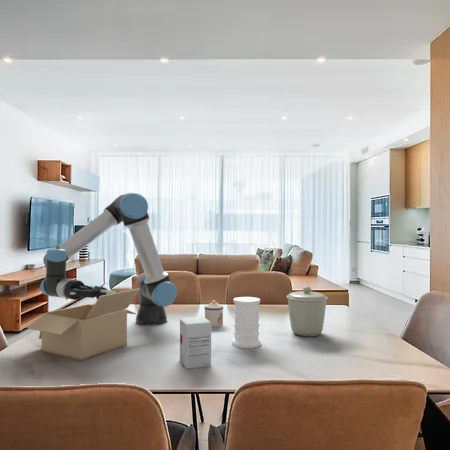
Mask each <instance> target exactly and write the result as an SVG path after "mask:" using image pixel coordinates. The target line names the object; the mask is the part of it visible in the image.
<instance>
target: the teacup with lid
mask: <svg viewBox="0 0 450 450" xmlns="http://www.w3.org/2000/svg"><path fill="white" fill-rule="evenodd" d="M223 312H224V305H222V304H219V303H218V302H217V300H212V301H211V302H210V303H208V304H206V305H205V306H204V318H206V319H207V320H208V321H210V322H211V328H220V327H222V326H223V324H224V323H223V317H224V313H223Z"/></svg>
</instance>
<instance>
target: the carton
mask: <svg viewBox="0 0 450 450" xmlns="http://www.w3.org/2000/svg"><path fill="white" fill-rule="evenodd" d="M94 304H95V303H84V304H81V305H80V304H79V305H76V306H70V307H65V308H61V309H56V310H52V311H48V312H47V311H46V312H44V313H41V316H40V317H38V318H37V319H36V320H34V321H33V322H31V323H30V324H29V325H28V326H26V328H27V329H30V330H34V331H38V332H39V335H38V340H41V346H40V347H41V350H40V351H41V352H44V353H48V354H51V355H57V356H60V357H64V358H67V359H71V360H76V361H79V362H83V361H86V360H88V359H91V358H95V357H97V356H99V355H103V354H106V353H108V352H111V351H113V350H116V349H118V348H122V347H124V346H127V344H128V341H127V340H128V314H130V315H136V316H137V313H136V312H134V311H131V310H129V309H128V308H126V309H122V310H118V311H114V312H110V313H106V314H102V315H98V316H94V317H90V318H86V317H87V315H88V314H89V312H90V311H91V309H92V308H93V306H94Z"/></svg>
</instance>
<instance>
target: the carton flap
mask: <svg viewBox="0 0 450 450" xmlns="http://www.w3.org/2000/svg"><path fill="white" fill-rule="evenodd" d="M138 293H140V287H138V288H134V289H128V290H123V291H119V292H116V293H112V294H107V295H102V296H99V298H98V299H96V302H95V303H93V304H94V306H93V308H92V309H91V311H90V312H89V314H88V315H87V317H86V318H90V317H94V316H98V315H102V314H106V313H110V312H114V311H118V310H122V309H128V308H129V306H131V305H130V304H131V303H132V301H133V300H134V299H135V298H136V296H137V294H138Z"/></svg>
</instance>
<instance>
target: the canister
mask: <svg viewBox="0 0 450 450" xmlns="http://www.w3.org/2000/svg"><path fill="white" fill-rule="evenodd" d="M286 298H287V303H288V304H287V305H288V314H289V322H290V323H289V324H290V328H291V331H292V333H294V334H295V335H297V336H300V337H318V336H320V335H321V334H322V332H323V329H324V323H325V318H326V317H325V316H326V307H327V300H328V299H329V297H328V296H326V295H325V293H324V294H323V293H321V292H317V291H312V288H311V287H310V286H309V285H307V286H306V285H305V286H303V288H302V290H299V291H292V292H290V293H288V294H287V295H286Z"/></svg>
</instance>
